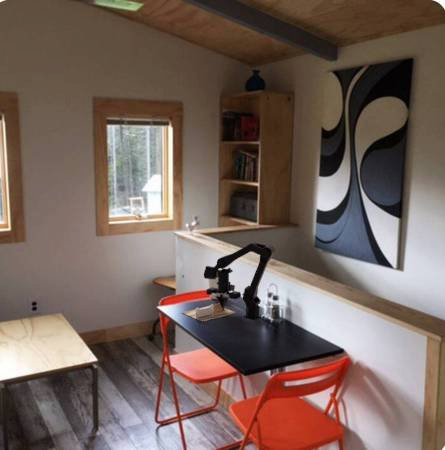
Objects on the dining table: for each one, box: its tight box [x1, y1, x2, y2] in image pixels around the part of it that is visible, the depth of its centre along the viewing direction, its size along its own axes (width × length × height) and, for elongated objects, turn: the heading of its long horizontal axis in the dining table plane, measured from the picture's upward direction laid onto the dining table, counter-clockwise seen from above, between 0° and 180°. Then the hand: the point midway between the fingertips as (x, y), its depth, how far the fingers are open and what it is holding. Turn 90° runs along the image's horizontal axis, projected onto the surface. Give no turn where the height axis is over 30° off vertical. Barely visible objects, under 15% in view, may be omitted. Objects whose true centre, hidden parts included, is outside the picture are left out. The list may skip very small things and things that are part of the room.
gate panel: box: [214, 302, 226, 313], centre depth 280 cm, size 2×9×5 cm, turn 145°
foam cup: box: [207, 278, 218, 300], centre depth 307 cm, size 10×9×13 cm
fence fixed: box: [195, 303, 215, 318], centre depth 272 cm, size 2×12×6 cm, turn 132°
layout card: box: [181, 305, 237, 323], centre depth 278 cm, size 17×24×1 cm
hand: (223, 308), depth 280 cm, fingers closed
